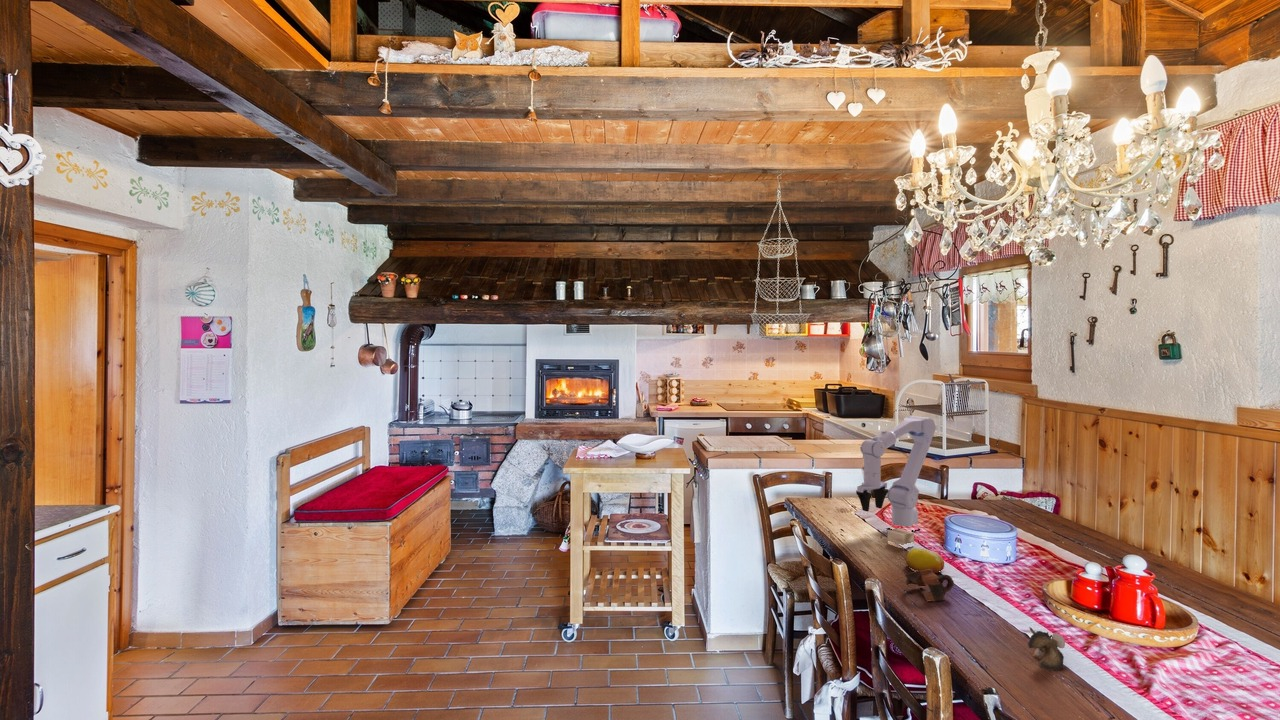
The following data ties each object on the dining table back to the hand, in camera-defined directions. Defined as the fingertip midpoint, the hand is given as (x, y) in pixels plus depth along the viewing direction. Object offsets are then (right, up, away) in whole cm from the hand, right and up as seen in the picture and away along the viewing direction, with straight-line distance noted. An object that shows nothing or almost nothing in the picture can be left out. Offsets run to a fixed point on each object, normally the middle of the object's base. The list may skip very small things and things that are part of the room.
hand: (872, 509), depth 214 cm
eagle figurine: (+3, -11, -87) cm, 88 cm away
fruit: (+2, -10, -35) cm, 36 cm away
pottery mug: (-6, -10, -54) cm, 55 cm away
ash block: (+5, -10, -12) cm, 16 cm away
